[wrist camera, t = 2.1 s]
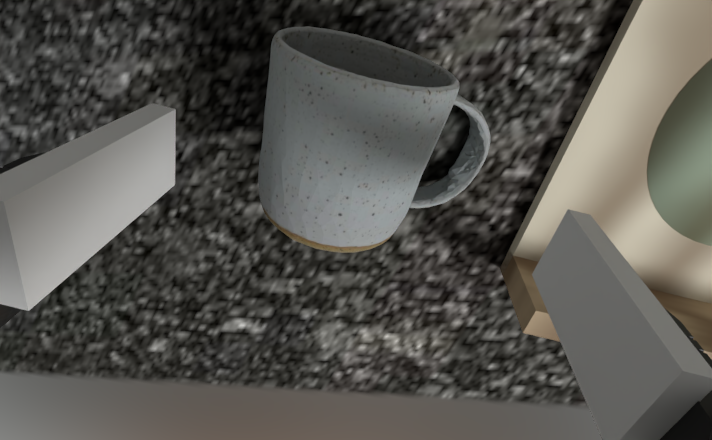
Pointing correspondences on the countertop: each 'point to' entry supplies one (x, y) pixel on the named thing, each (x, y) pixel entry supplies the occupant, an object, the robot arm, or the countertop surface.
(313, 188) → the ceramic mug
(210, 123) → the countertop surface
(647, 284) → the tray
